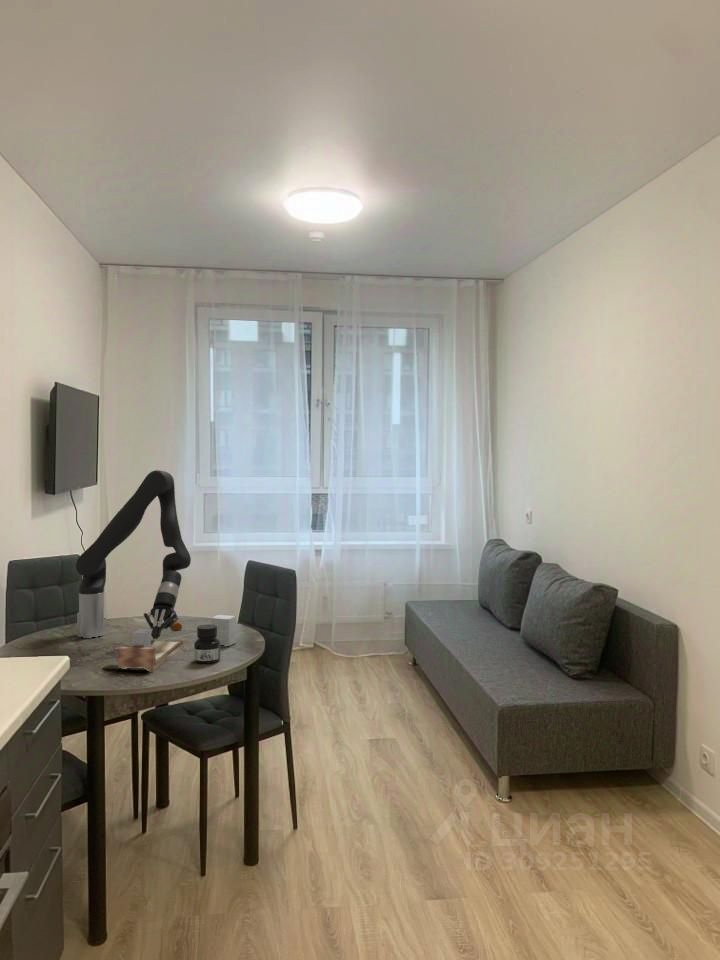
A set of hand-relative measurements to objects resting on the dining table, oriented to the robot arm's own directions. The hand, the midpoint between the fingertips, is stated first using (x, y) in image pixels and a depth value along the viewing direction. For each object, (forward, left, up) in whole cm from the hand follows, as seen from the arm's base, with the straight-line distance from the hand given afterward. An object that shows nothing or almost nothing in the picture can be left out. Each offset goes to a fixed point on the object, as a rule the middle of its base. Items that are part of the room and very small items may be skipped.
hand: (154, 637), depth 255 cm
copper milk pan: (0, -2, -6) cm, 7 cm away
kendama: (-9, +45, -7) cm, 47 cm away
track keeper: (0, -13, -5) cm, 14 cm away
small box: (+20, +18, -7) cm, 28 cm away
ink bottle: (+20, -4, -7) cm, 22 cm away
